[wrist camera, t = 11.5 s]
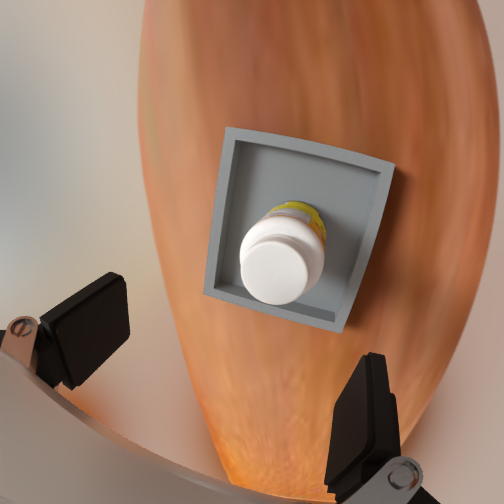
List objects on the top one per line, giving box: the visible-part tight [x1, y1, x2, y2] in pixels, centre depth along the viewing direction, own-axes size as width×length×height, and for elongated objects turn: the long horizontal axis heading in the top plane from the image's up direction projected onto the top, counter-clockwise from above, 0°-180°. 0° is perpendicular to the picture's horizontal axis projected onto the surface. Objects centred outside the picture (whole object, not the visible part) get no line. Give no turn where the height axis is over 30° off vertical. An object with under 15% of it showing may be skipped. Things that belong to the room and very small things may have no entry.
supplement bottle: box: [240, 200, 326, 305], centre depth 21 cm, size 6×6×10 cm
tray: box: [203, 127, 395, 333], centre depth 25 cm, size 16×14×2 cm
